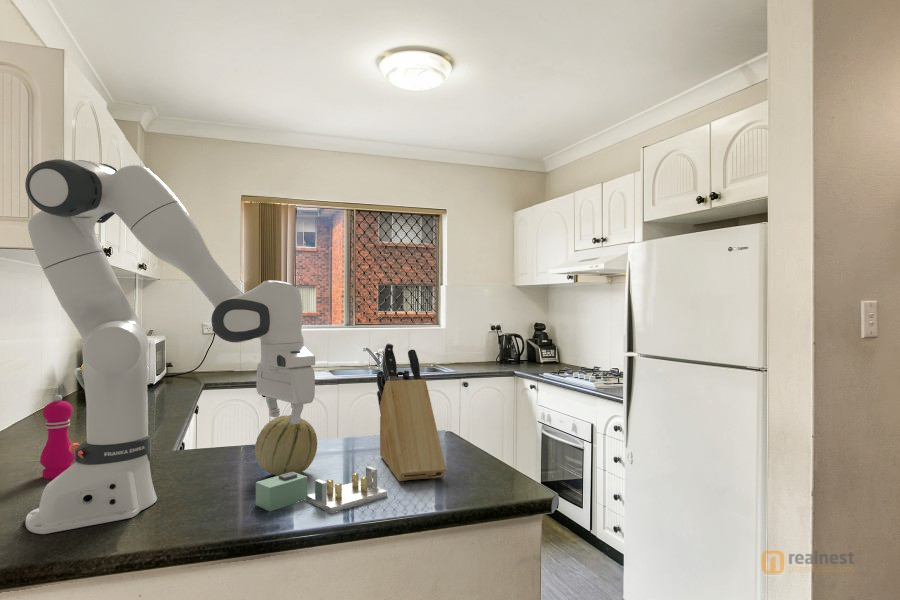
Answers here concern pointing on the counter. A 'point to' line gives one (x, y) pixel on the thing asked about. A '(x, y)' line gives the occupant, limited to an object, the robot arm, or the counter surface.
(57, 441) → the pepper mill
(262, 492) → the green box
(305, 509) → the counter surface
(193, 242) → the robot arm
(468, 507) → the counter surface
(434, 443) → the knife block
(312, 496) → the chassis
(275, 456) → the cantaloupe
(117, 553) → the counter surface
